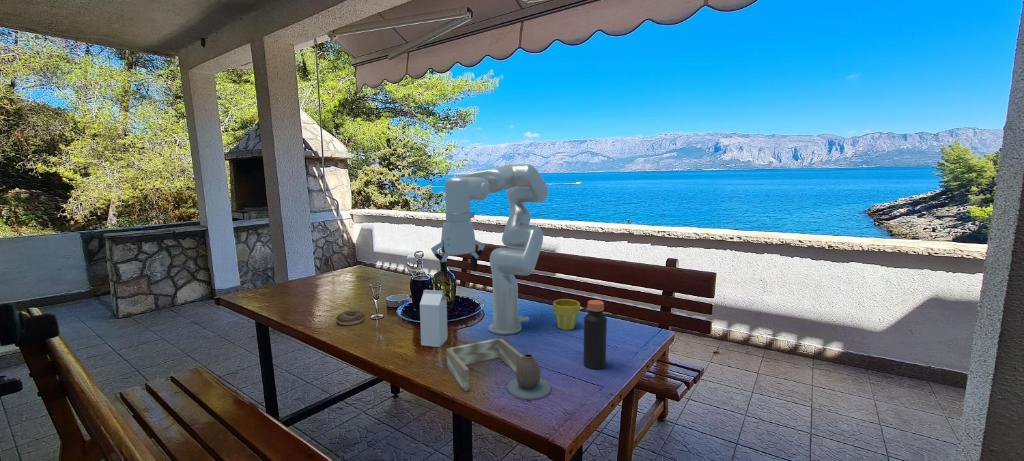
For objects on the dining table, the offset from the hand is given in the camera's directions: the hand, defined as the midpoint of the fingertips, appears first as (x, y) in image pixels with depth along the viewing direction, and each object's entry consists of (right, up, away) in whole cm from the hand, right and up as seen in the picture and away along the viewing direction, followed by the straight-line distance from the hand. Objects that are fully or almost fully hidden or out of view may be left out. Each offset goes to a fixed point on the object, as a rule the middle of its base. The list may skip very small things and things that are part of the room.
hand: (459, 272), depth 128 cm
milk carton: (-11, -27, +16) cm, 33 cm away
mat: (+21, -30, -16) cm, 40 cm away
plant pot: (+38, -25, +31) cm, 55 cm away
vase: (+21, -30, -16) cm, 40 cm away
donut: (-49, -24, +38) cm, 66 cm away
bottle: (+42, -29, -2) cm, 51 cm away
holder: (+8, -29, -6) cm, 31 cm away
